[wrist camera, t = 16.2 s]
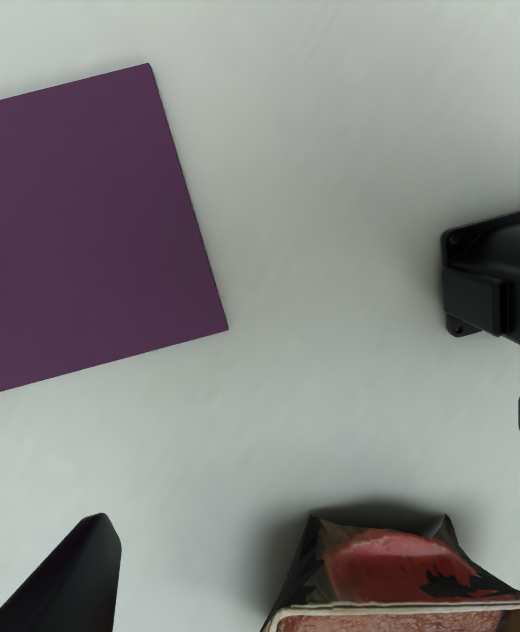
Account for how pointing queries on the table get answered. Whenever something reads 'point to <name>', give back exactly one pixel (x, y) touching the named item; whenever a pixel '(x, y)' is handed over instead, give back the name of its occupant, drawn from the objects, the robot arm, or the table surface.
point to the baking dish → (389, 584)
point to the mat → (95, 230)
